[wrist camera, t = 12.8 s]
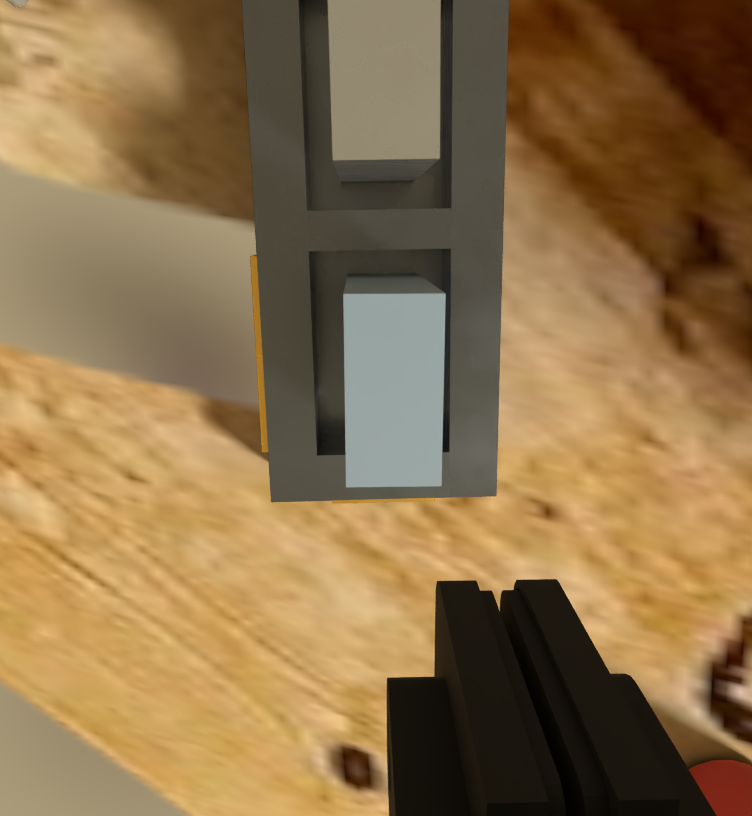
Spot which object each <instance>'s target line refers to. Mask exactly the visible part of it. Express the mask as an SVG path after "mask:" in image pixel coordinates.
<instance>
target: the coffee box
mask: <svg viewBox="0 0 752 816" xmlns="http://www.w3.org/2000/svg"><path fill="white" fill-rule="evenodd" d="M7 1H8V2H9V3H11V4H12V5H13V6H14V7H17V8H19V7H22V6H23V5H24V4H25V3H26V2H27V1H28V0H7Z"/></svg>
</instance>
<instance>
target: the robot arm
mask: <svg viewBox="0 0 752 816" xmlns="http://www.w3.org/2000/svg"><path fill="white" fill-rule="evenodd" d="M387 764H388V796H389V816H717V815H716V814H715V812H714V810H713V809H712V807H711V806H710V804H709V802H708V801H707V799H706V797H705V796H704V794H703V792H702V791H701V789H700V787H699V786H698V784H697V782H696V781H695V779H694V778H693V776H692V774H691V773H690V771H689V769H688V768H687V766H686V764H685V763H684V761H683V759H682V758H681V756H680V754H679V753H678V751H677V749H676V748H675V746H674V745H673V743H672V741H671V740H670V738H669V736H668V735H667V733H666V731H665V730H664V728H663V726H662V725H661V723H660V721H659V720H658V718H657V717H656V715H655V713H654V712H653V710H652V708H651V707H650V705H649V703H648V702H647V700H646V698H645V697H644V695H643V693H642V692H641V690H640V689H639V687H638V685H637V684H636V682H635V681H634V680H633V679H632V677H631V676H629V675H627V674H610V673H609V671H608V669H607V667H606V666H605V664H604V662H603V660H602V658H601V657H600V655H599V653H598V651H597V650H596V648H595V646H594V644H593V642H592V641H591V639H590V637H589V635H588V633H587V632H586V630H585V628H584V626H583V625H582V623H581V621H580V619H579V617H578V616H577V614H576V612H575V610H574V608H573V607H572V605H571V603H570V601H569V600H568V598H567V596H566V594H565V592H564V591H563V589H562V587H561V585H560V584H559V582H558V581H557V580H556V579H544V580H516V582H515V585H514V590H503V591H502V593H501V600H500V611H499V609H498V606H497V603H496V600H495V598H494V595H493V592H492V591H480V590H479V587H478V584H477V582H476V581H437V584H436V612H435V676H434V677H401V678H387Z"/></svg>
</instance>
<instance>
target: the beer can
mask: <svg viewBox="0 0 752 816" xmlns="http://www.w3.org/2000/svg"><path fill="white" fill-rule="evenodd" d="M689 771H690V773H691V774H692V776H693V778H694V779H695V781H696V782H697V784H698V786H699V787H700V789H701V791H702V792H703V794H704V796H705V797H706V799H707V801H708V802H709V804H710V806H711V807H712V809H713V810H714V812H715V814H716V815H717V816H752V766H751V765H749V764H746V763H742V762H738V761H734V760H711V761H707V762H704V763H701V764H697V765H694V766H693V767H691V768H689Z"/></svg>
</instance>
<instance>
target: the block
mask: <svg viewBox="0 0 752 816" xmlns="http://www.w3.org/2000/svg"><path fill="white" fill-rule="evenodd" d="M445 303H446V293H444V292H443V291H441V290H440V289H439V288H437V287H436V286H434V285H433V284H432V283H430V282H429V281H427V280H426V279H424V278H423V277H422V276H420V275H419V274H417V273H415V274H348V275H347V279H346V284H345V289H344V293H343V307H344V379H345V452H346V487H423V486H442V442H443V395H444V349H445Z"/></svg>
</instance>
